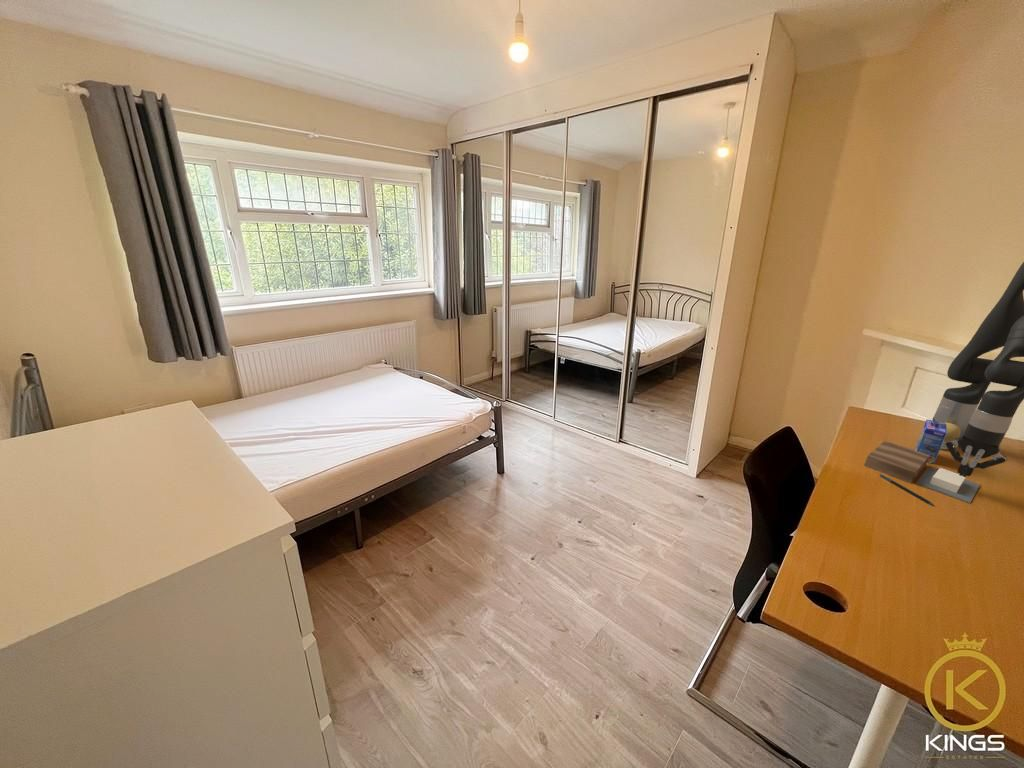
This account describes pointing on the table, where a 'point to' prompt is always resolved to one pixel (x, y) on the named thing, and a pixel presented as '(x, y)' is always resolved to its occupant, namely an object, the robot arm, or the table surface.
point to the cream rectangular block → (947, 480)
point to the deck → (897, 461)
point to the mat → (963, 493)
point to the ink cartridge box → (931, 439)
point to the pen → (906, 490)
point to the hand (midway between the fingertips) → (962, 475)
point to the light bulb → (951, 434)
